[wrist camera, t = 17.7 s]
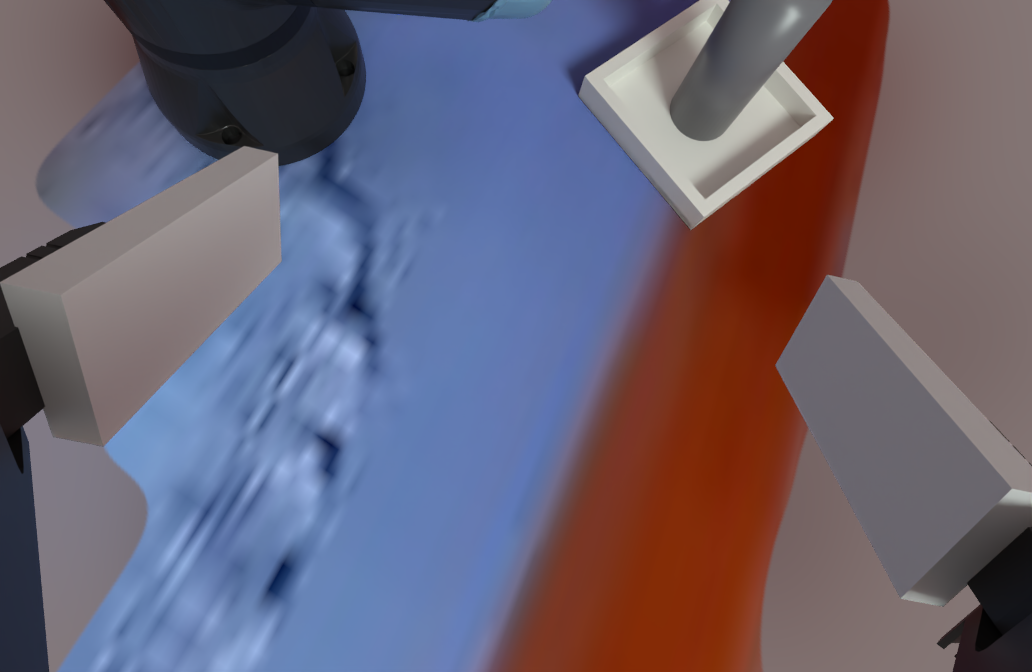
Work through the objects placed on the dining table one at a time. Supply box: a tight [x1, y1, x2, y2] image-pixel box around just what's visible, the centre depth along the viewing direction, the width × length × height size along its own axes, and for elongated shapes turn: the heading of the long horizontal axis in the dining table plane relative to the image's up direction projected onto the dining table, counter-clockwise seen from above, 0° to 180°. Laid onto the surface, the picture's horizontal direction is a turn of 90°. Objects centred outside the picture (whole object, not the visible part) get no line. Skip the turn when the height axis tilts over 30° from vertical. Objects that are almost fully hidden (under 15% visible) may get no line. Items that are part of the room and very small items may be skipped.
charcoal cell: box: [670, 0, 832, 141], centre depth 38 cm, size 5×5×14 cm
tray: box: [578, 0, 834, 230], centre depth 45 cm, size 14×14×2 cm
